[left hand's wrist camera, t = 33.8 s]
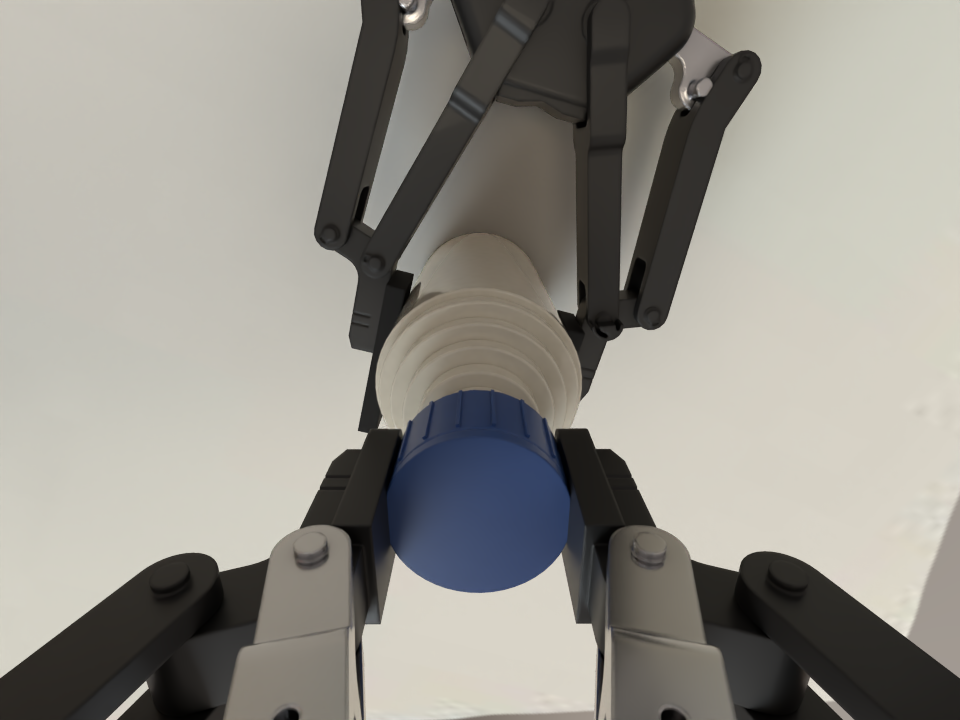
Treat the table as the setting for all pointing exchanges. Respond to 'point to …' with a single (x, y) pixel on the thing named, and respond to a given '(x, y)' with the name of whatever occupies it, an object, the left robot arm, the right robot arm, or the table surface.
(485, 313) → the bottle
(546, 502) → the cap
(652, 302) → the right robot arm
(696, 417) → the table surface
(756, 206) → the table surface
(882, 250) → the table surface
